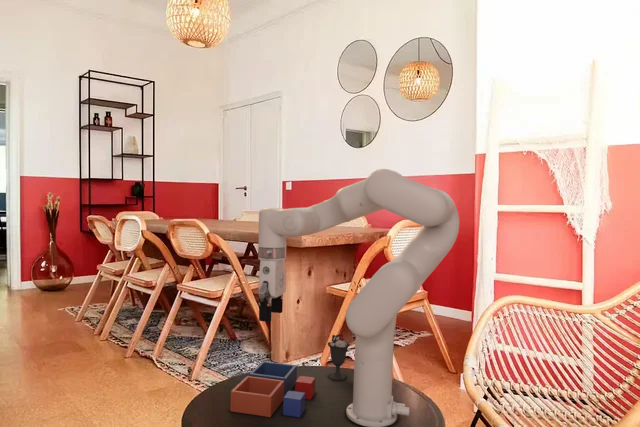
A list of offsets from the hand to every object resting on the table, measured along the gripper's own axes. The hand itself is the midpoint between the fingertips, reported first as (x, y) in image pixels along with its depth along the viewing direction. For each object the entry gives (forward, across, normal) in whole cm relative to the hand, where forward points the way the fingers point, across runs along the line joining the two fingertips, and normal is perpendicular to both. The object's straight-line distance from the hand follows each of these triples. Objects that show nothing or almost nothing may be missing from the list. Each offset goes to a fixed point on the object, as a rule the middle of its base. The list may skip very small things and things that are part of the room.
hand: (271, 316), depth 127 cm
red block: (+22, +2, -9) cm, 24 cm away
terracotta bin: (+21, -7, +1) cm, 23 cm away
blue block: (+22, -8, -9) cm, 25 cm away
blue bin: (+21, +5, +1) cm, 22 cm away
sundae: (+22, +18, -16) cm, 32 cm away
